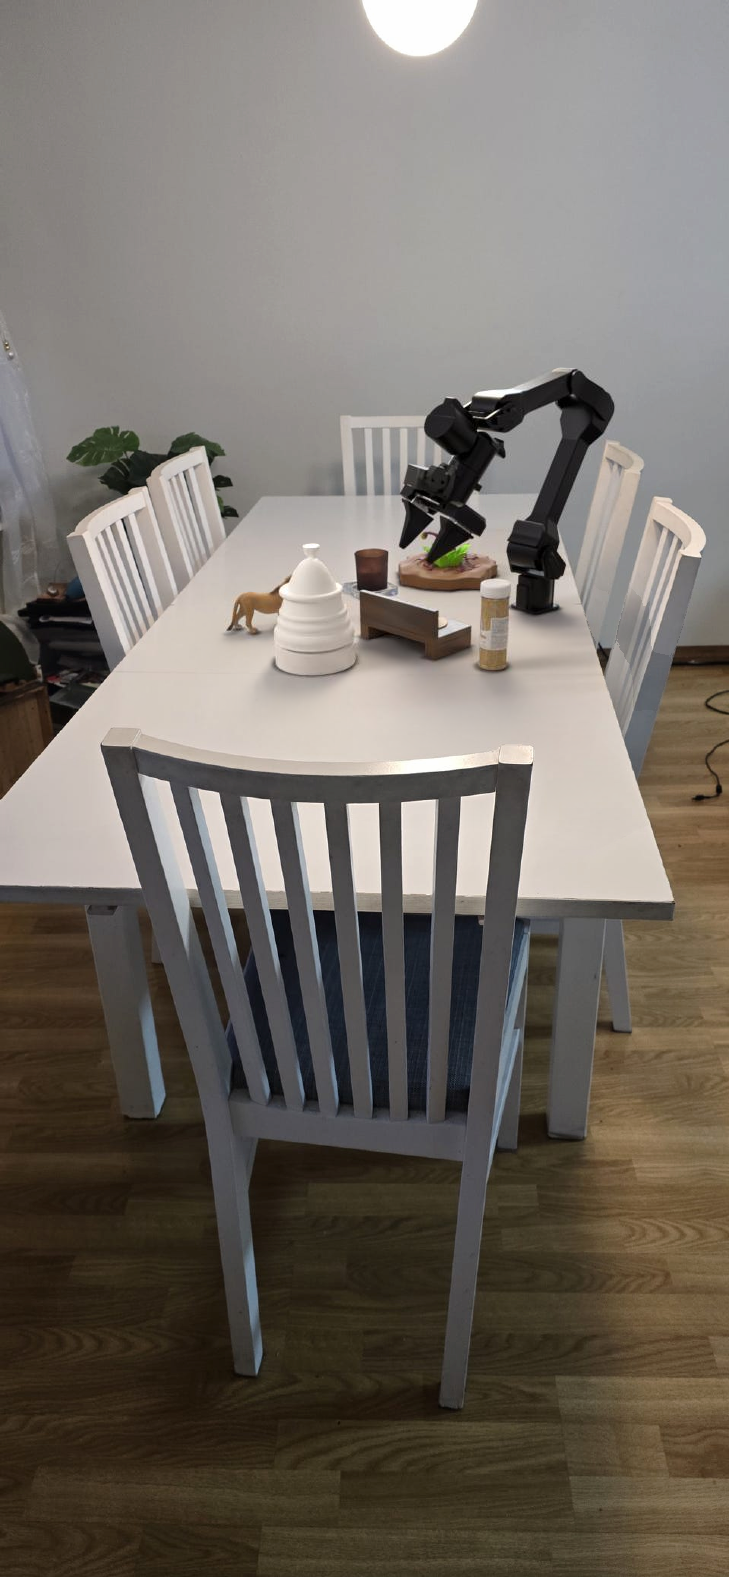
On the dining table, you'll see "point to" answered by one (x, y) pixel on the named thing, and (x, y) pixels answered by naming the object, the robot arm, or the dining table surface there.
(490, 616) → the sprinkles bottle
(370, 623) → the miniature wooden bench
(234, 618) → the lion figurine
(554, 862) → the dining table surface
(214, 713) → the dining table surface
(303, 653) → the honey pot
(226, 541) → the dining table surface
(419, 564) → the plant
